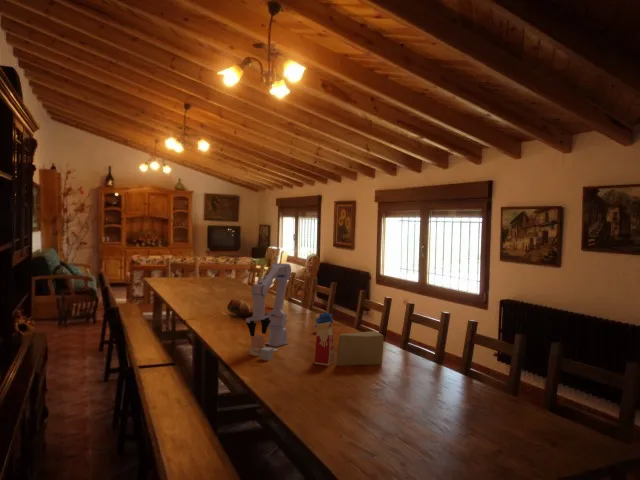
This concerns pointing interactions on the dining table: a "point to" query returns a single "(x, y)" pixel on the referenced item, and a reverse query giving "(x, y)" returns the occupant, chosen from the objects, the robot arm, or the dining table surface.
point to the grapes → (324, 318)
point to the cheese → (360, 349)
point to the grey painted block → (266, 353)
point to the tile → (274, 349)
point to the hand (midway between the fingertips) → (258, 334)
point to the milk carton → (324, 345)
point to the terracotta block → (257, 341)
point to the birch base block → (255, 350)
